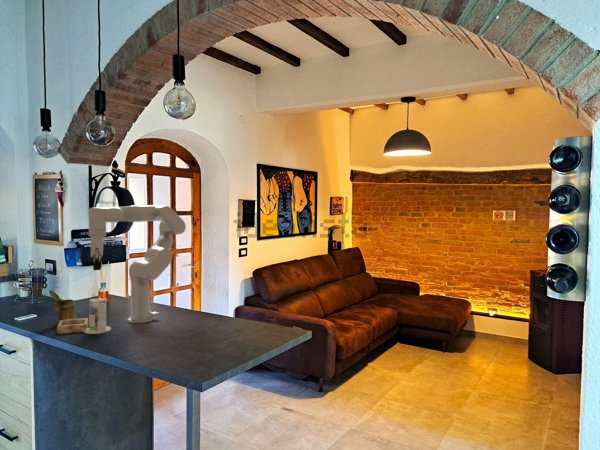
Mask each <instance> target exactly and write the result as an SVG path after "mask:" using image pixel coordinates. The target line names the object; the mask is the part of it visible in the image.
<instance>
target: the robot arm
mask: <svg viewBox="0 0 600 450" xmlns="http://www.w3.org/2000/svg"><path fill="white" fill-rule="evenodd" d="M157 221H158V222H159V227H158V229H159V231H158V232H159V236H158V238H157V240H156V241H155V242H154V243H153V244H152V245H151V246H150V247H149V248H148V249H147V251H146V252H145V253H144V260H135V261H133V262H132V263H131V264H130V265H129V268H128V275H129V281H130V317H128V318H127V322H128V323H130V324H145V323H149V322H152V321H153V320H154V317H159V316H160V312H157V311H153V312H152V311H151V284H150V282H151V281H154V280H157V279H158V278H159V277H160V276H161V275H162V273H163V272H165V270H166V269H167V268H168V267H169V266H170V264H171V262H172V260H173V252H172V250H171V249H172V246H173V244H174V237H173V235H176V236H177V235H182V234H184V233H185V231H186V229H187V228H186V227H187V226H186V223H185V221H184V219H183V218H182V217H181V216H180V215H178V213H177V212H176V211H175V210H174V209H173V208H172V207H170V206H169V205H162V204H161V205H159V204H155V205H154V204H149V205H147V204H146V205H145V204H144V205H127V206H103V207H93V206H92V207H89V209H88V237H90V257H91V258H93V261H92V262H93V263H92V265H93V266H92V267H93V268H92V269H93V271H101V268H102V267H103V261H102V260H103V259H102V257H103V254H104V237H107V223H118V222H132V223H139V222H140V223H141V222H157Z"/></svg>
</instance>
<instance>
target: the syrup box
mask: <svg viewBox="0 0 600 450" xmlns="http://www.w3.org/2000/svg"><path fill="white" fill-rule="evenodd" d="M88 302H89V308H88V309H89V313H88V314H89V316H88V328H89V329H90V330H94V331H99V330H103V329H106V326H107V299H104V298H101V297H99V298H91V299H89V301H88Z"/></svg>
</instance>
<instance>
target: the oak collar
mask: <svg viewBox="0 0 600 450" xmlns="http://www.w3.org/2000/svg"><path fill="white" fill-rule="evenodd" d="M87 328H89V317H87V318H86V317H84V318H77V319H68V320H60V322H59V324H58V323H57V326H56V334H57V335H59V334H70V333H71V334H72V332H74V333H84V330H87Z"/></svg>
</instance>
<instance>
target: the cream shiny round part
mask: <svg viewBox="0 0 600 450" xmlns="http://www.w3.org/2000/svg"><path fill="white" fill-rule="evenodd" d="M111 330H112V327H111V326H108V325H106V329H103V330H99V331H94V330H90V329H89V327H88V328H87V330H84V332H83V334H84V333H85V334H87V335H99V334H105V333H108V332H111Z"/></svg>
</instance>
